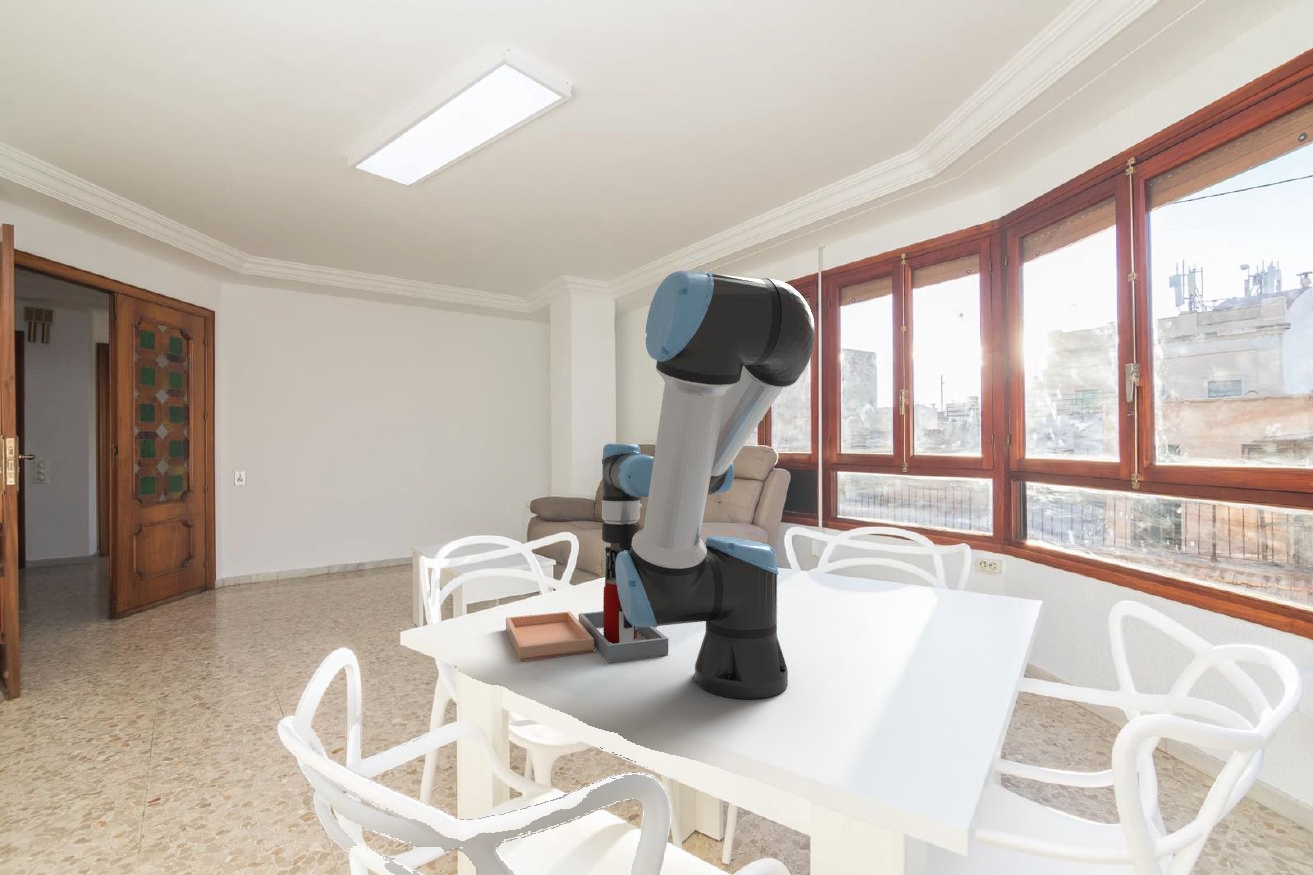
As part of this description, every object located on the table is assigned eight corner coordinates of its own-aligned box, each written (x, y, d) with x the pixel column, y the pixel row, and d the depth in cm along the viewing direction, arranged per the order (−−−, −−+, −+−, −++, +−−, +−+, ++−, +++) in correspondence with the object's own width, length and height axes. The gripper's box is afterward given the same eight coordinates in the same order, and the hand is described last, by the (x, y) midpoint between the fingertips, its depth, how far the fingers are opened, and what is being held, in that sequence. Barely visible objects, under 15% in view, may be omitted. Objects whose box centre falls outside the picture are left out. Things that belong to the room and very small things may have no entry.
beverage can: (636, 646, 115) (636, 583, 116) (601, 646, 116) (601, 583, 116) (638, 635, 122) (638, 576, 122) (605, 634, 122) (605, 575, 122)
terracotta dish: (593, 652, 112) (593, 639, 112) (519, 661, 107) (519, 647, 107) (570, 622, 130) (570, 611, 130) (505, 629, 125) (505, 617, 125)
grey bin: (668, 655, 111) (668, 638, 111) (607, 662, 107) (607, 645, 107) (630, 622, 131) (630, 608, 131) (578, 627, 127) (578, 613, 127)
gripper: (656, 527, 111) (656, 651, 111) (623, 515, 130) (623, 622, 129) (617, 528, 109) (617, 656, 108) (589, 516, 127) (589, 625, 127)
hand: (620, 637), depth 119 cm, fingers closed on beverage can, 7 cm apart
